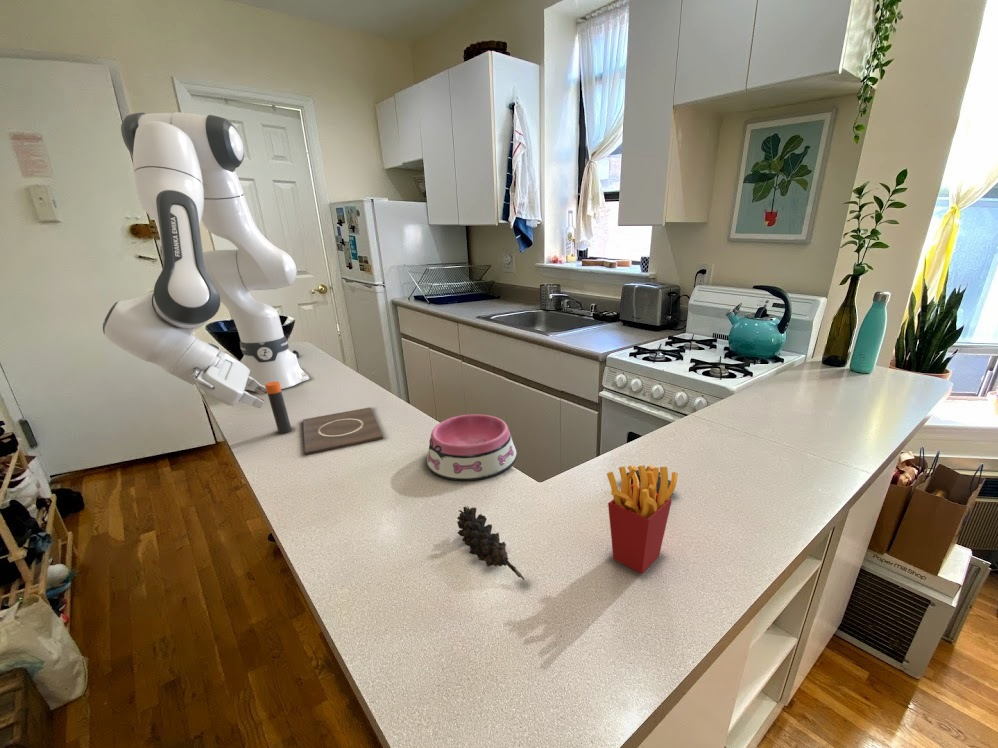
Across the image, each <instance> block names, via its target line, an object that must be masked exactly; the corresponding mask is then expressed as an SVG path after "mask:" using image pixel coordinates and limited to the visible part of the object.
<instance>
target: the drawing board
mask: <svg viewBox="0 0 998 748" xmlns="http://www.w3.org/2000/svg"><path fill="white" fill-rule="evenodd" d="M302 427H303V444H304V445H303V446H304V455H305V456H306V455H307V456H308V455H311V454H317V453H321V452H326V451H330V450H331V451H332V450H335V449H341V448H346V447H349V446H354V445H360V444H363V443H369V442H373V441H378V440H382V439H384V435H383V433H382V431H381V429H380V427H379V424H378V422H377V419H376V417H375V414H374V412H373V410H372V407H371V406H370V407H366V408H358V409H354V410H348V411H342V412H336V413H332V414H325V415H322V416H321V415H319V416H315V417H310V418H309V417H308V418H303V419H302Z"/></svg>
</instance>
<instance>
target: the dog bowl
mask: <svg viewBox="0 0 998 748" xmlns="http://www.w3.org/2000/svg"><path fill="white" fill-rule="evenodd" d="M428 444H429V445H428V452H427V458H426V466H427V468H428V470H429V471H430V472H431V473H432V474H434V475H435V476H437V477H440V478H442V479H445V480H450V481H459V482H460V481H461V482H467V481H469V482H471V481H479V480H484V479H488V478H491V477H495V476H497V475H499V474H501V473H503V472H505V471H507V470H509V469H510V468H511V467H512V466H513V465H514V464H515V462H516V460H517V459H518V452H517V449H516V446H515V444H514V441H513V437H512V433H511V432H510V429H509V427H508V424H507V423H506V422H505V421H504V420H503V419H501V418H500V417H497V416H494V415H489V414H481V413H480V414H477V413H476V414H462V415H456V416H453V417H450V418H447V419H445V420H443V421H441V422H439V423H438V424H436V426H434V427H433V429H432V430H431V434H430V437H429V443H428ZM503 462H505V463H506V464H505V463H503ZM507 464H508V465H507ZM510 466H511V467H510Z"/></svg>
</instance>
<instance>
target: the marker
mask: <svg viewBox="0 0 998 748" xmlns="http://www.w3.org/2000/svg"><path fill="white" fill-rule="evenodd" d="M265 387H266V391H265V392H266V394H267V396H268V397H267V398H268V401H269V404H270V407H271V411H272V414H273V418H274V421H275V425H276V429H277V432H278V433H279V434H287V433H290V432H291V431H292V430H293V429H292V425H291V422H290V419H289V415H288V410H287V408H286V403H285V400H284V399H285V398H284V396H283V392H282V389H281V387H280V383H279V382H269V383H267V384H265Z"/></svg>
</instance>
